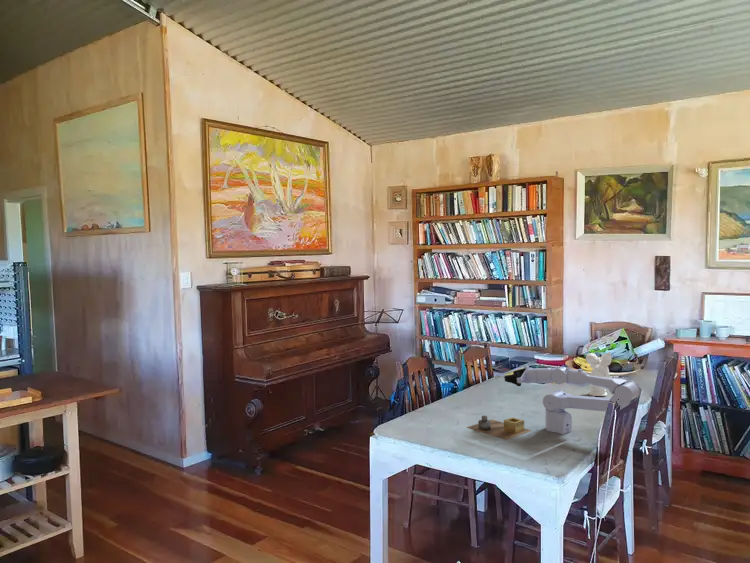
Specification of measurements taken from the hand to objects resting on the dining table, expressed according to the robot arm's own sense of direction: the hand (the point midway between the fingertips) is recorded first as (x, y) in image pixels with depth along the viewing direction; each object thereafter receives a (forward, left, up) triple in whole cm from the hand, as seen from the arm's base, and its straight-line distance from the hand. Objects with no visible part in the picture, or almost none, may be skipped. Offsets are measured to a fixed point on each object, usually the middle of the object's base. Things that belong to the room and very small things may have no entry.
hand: (509, 376), depth 238 cm
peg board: (-5, +13, -19) cm, 24 cm away
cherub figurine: (-3, -70, -20) cm, 72 cm away
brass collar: (-10, +10, -18) cm, 23 cm away
